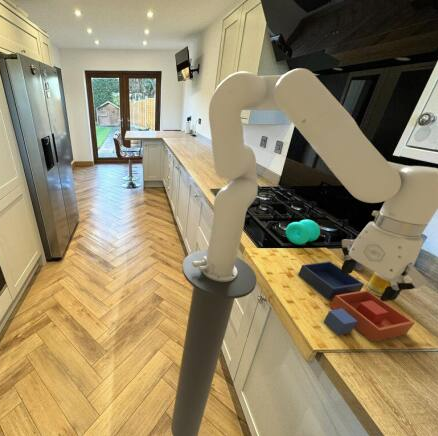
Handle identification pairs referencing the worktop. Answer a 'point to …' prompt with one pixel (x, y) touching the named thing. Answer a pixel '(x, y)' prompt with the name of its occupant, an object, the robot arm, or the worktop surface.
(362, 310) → the brick block
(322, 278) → the navy bin
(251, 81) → the robot arm
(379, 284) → the supplement bottle
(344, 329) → the slate block
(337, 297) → the terracotta bin
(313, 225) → the donuts
